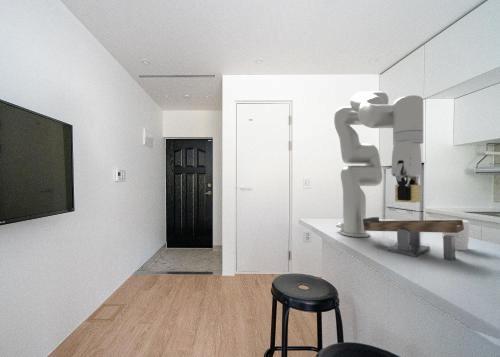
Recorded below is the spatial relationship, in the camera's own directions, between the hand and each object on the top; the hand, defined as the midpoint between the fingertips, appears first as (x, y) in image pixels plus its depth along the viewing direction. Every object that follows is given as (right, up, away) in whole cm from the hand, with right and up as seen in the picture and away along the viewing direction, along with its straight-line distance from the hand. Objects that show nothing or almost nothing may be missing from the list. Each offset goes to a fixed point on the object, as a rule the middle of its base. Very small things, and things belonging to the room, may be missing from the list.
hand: (407, 199), depth 70 cm
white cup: (+28, -19, +15) cm, 37 cm away
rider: (0, -1, 0) cm, 1 cm away
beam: (+9, -12, +12) cm, 19 cm away
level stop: (+15, -19, +4) cm, 25 cm away
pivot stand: (+9, -19, +12) cm, 24 cm away
